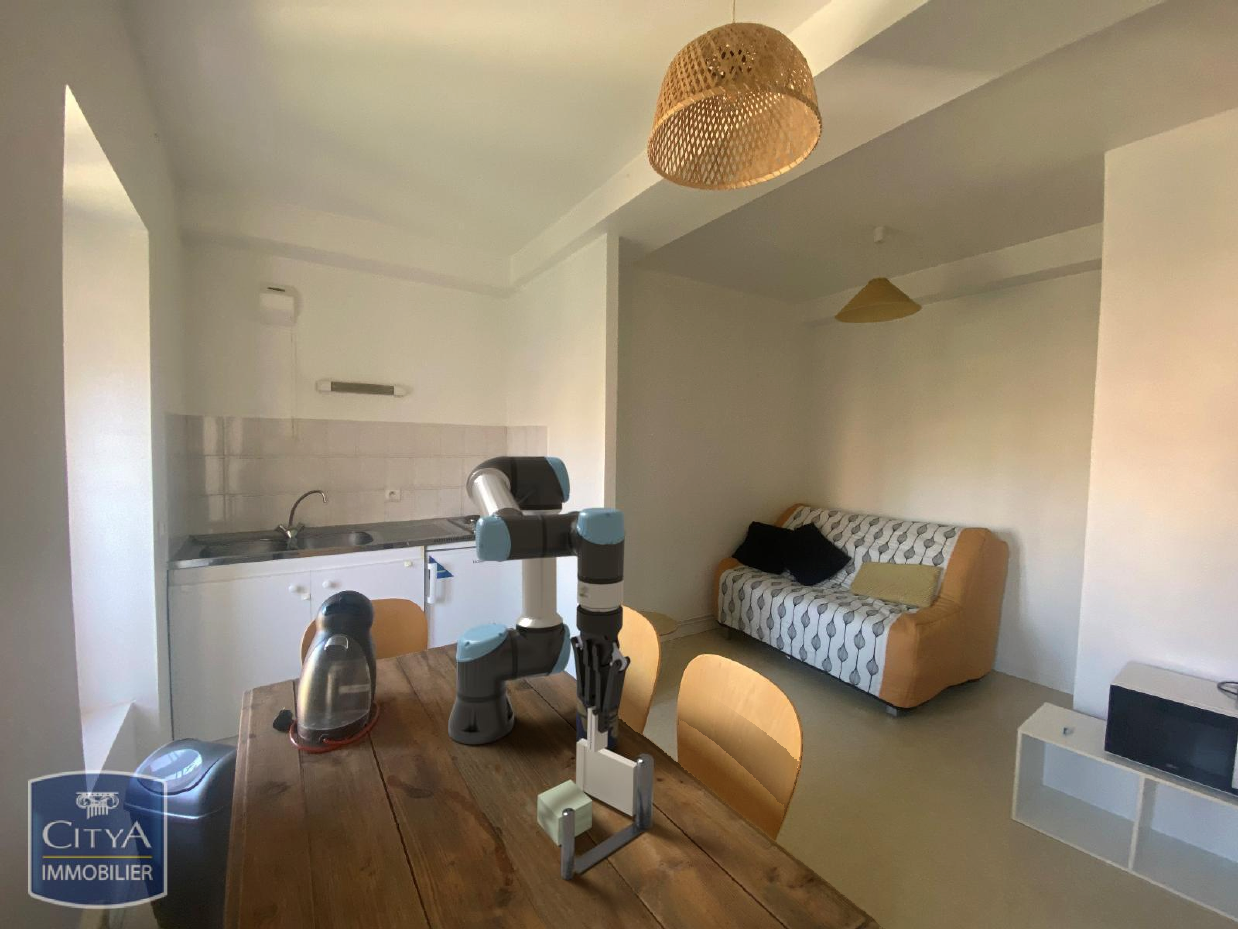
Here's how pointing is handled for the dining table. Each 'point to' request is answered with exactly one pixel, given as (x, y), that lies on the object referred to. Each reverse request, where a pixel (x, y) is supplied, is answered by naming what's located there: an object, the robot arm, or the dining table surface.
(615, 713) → the canister
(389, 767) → the dining table surface
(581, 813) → the pale green block
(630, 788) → the gate
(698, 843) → the dining table surface
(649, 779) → the gate frame
